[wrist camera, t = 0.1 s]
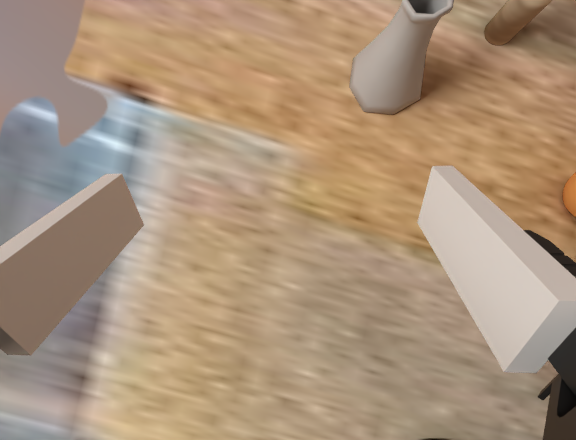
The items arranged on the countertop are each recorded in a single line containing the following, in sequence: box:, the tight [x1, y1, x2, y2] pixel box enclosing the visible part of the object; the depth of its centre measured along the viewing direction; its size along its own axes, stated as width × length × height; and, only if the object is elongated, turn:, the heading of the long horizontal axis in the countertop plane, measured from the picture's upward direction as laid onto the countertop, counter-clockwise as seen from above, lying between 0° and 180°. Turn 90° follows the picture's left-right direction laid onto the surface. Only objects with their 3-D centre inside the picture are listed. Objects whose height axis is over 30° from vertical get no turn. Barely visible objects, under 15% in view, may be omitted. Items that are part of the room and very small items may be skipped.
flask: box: [349, 0, 454, 114], centre depth 22 cm, size 7×7×10 cm
